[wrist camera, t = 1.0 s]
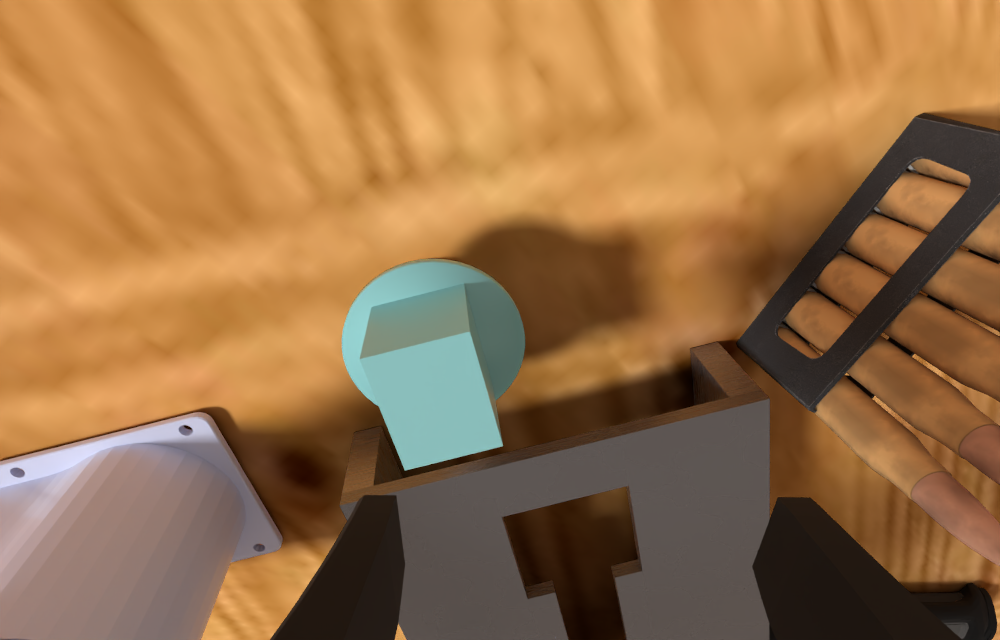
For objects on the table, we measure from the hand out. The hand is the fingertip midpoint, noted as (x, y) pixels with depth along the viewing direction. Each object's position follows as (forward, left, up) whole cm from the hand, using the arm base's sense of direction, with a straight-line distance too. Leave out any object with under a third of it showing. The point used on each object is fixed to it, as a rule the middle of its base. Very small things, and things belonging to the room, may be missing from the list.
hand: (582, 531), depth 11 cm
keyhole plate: (0, -16, -12) cm, 20 cm away
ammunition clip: (+13, -2, -13) cm, 18 cm away
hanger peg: (-3, 0, -12) cm, 13 cm away
